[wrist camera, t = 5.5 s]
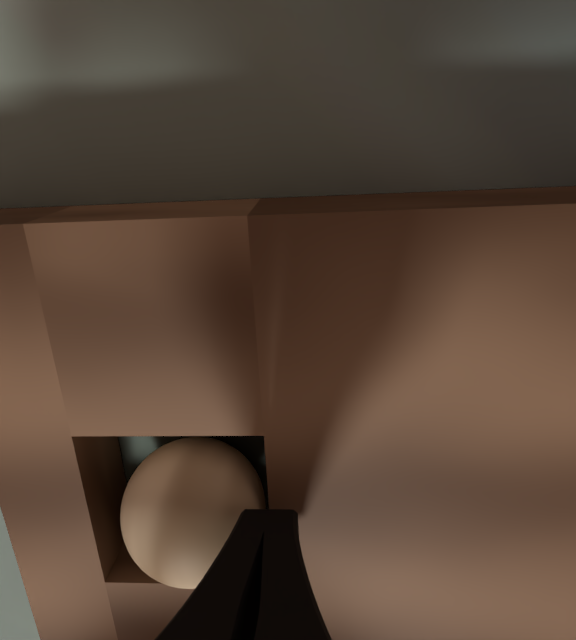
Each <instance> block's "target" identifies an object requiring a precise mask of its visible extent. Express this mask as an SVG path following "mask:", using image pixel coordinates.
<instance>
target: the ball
mask: <svg viewBox="0 0 576 640" xmlns="http://www.w3.org/2000/svg"><path fill="white" fill-rule="evenodd" d="M245 509H266V502H265V495H264V490H263V487H262V483H261V480H260V478H259V476H258V474H257V472H256V470H255V469H254V467H253V466H252V464H251V463H250V462H249V460H248V459H247V458H246V457H245V456H244V455H243V454H242V453H241V452H239V451H238V450H237V449H235V448H234V447H232V446H230V445H229V444H227V443H224V442H222V441H220V440H216V439H213V438H207V437H188V438H182V439H178V440H175V441H172V442H170V443H167V444H165V445H163V446H161V447H160V448H158V449H156V450H155V451H154V452H152V453H151V454H150V455H149V456H147V457H146V458H145V459H144V460H143V461H142V463H141V464H140V465H139V466H138V467H137V469H136V470H135V472H134V473H133V475H132V476H131V478H130V480H129V482H128V484H127V486H126V489H125V492H124V495H123V498H122V503H121V512H120V524H121V531H122V536H123V540H124V543H125V545H126V548H127V550H128V552H129V554H130V556H131V557H132V559H133V560H134V562H135V563H136V564H137V565H138V566H139V568H140V569H141V570H142V571H143V572H145V573H146V574H147V575H148V576H150V577H151V578H153V579H154V580H156V581H158V582H160V583H162V584H165V585H167V586H171V587H175V588H182V589H195V588H196V587H197V585H198V584H199V583H200V581H201V580H202V578H203V577H204V575H205V574H206V572H207V571H208V569H209V568H210V566H211V565H212V563H213V562H214V560H215V558H216V557H217V555H218V554H219V552H220V551H221V549H222V547H223V545H224V544H225V542H226V540H227V539H228V537H229V535H230V533H231V532H232V530H233V528H234V526H235V524H236V522H237V520H238V518H239V516H240V514H241V512H242V511H244V510H245Z"/></svg>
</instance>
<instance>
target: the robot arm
mask: <svg viewBox="0 0 576 640" xmlns="http://www.w3.org/2000/svg"><path fill="white" fill-rule="evenodd" d="M155 640H332V639H331V637H330V634H329V632H328V630H327V627H326V625H325V623H324V620H323V618H322V615H321V612H320V610H319V607H318V604H317V602H316V599H315V596H314V593H313V590H312V587H311V584H310V581H309V578H308V574H307V571H306V567H305V564H304V560H303V556H302V551H301V546H300V541H299V526H298V513H297V512H296V511H295V510H293V509H245V510H244V511H242V512H241V514H240V516H239V518H238V520H237V522H236V524H235V526H234V528H233V530H232V532H231V533H230V535H229V537H228V539H227V540H226V542H225V544H224V545H223V547H222V549H221V551H220V552H219V554H218V555H217V557H216V558H215V560H214V562H213V563H212V565H211V566H210V568H209V569H208V571H207V572H206V574H205V575H204V577H203V578H202V580H201V581H200V583H199V584H198V585H197V587H196V588H195V589H194V591H193V592H192V594H191V595H190V596H189V598H188V599H187V600H186V602H185V603H184V605H183V606H182V607H181V608H180V610H179V611H178V612H177V613H176V615H175V616H174V617H173V618H172V620H171V621H170V622H169V623H168V624H167V626H166V627H165V628H164V629H163V630H162V631H161V633H160V634H159V635H158V636H157V637H156V638H155Z"/></svg>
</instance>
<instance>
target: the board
mask: <svg viewBox="0 0 576 640" xmlns="http://www.w3.org/2000/svg"><path fill="white" fill-rule="evenodd" d="M118 436H264V446H265V459H266V472H267V486H268V499H269V509H293V510H295V511H296V512H297V513H298V526H299V541H300V546H301V551H302V556H303V560H304V564H305V567H306V571H307V574H308V578H309V581H310V584H311V587H312V590H313V593H314V596H315V599H316V602H317V604H318V607H319V610H320V612H321V615H322V618H323V620H324V623H325V625H326V627H327V630H328V632H329V634H330V637H331V639H332V640H576V186H565V187H539V188H514V189H488V190H463V191H437V192H412V193H387V194H361V195H336V196H310V197H285V198H260V199H234V200H209V201H183V202H158V203H132V204H107V205H82V206H56V207H31V208H5V209H0V507H1V510H2V513H3V516H4V520H5V523H6V526H7V530H8V533H9V536H10V540H11V543H12V546H13V550H14V553H15V556H16V560H17V563H18V566H19V569H20V573H21V576H22V579H23V583H24V586H25V589H26V593H27V596H28V599H29V603H30V606H31V609H32V613H33V616H34V619H35V623H36V626H37V629H38V632H39V636H40V639H41V640H155V638H156V637H157V636H158V635H159V634H160V633H161V631H162V630H163V629H164V628H165V627H166V626H167V624H168V623H169V622H170V621H171V620H172V618H173V617H174V616H175V615H176V613H177V612H178V611H179V610H180V608H181V607H182V606H183V605H184V603H185V602H186V600H187V599H188V598H189V596H190V595H191V594H192V592H193V591H194V589H182V588H175V587H171V586H167V585H165V584H162V583H160V582H158V581H156V580H154V579H153V578H151V577H150V576H148V575H147V574H146V573H145V572H143V571H142V570H141V569H140V568H139V566H138V565H137V564H136V563H135V562H134V560H133V559H132V557H131V556H130V554H129V552H128V550H127V548H126V545H125V543H124V540H123V536H122V531H121V524H120V512H121V503H122V498H123V495H124V492H125V489H126V486H127V483H126V478H125V473H124V468H123V462H122V457H121V452H120V447H119V442H118Z"/></svg>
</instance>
